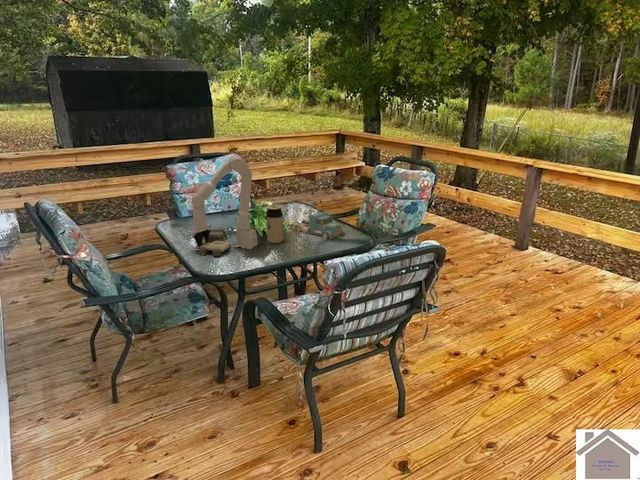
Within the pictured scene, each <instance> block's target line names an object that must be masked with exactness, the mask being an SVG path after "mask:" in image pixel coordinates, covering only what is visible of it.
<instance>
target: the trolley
mask: <svg viewBox="0 0 640 480" xmlns="http://www.w3.org/2000/svg"><path fill="white" fill-rule="evenodd" d="M195 249H199V250H198V254H199V253H200V254H205V255H207V253H208V251H212V253H211V254H212V256H213V257H214V256H219V257H220V256H221V255H222V252H228V251H231V249H232V246H231V244H230V243H229V242H228V241H225V240H224V241H213V242H211V243H209V242H208V243H206V244H204V245H202V246H200V248H198V246H195V247H194V250H195ZM224 250H226V251H224ZM200 254H199V255H200Z"/></svg>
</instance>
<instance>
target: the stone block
mask: <svg viewBox="0 0 640 480" xmlns="http://www.w3.org/2000/svg"><path fill="white" fill-rule="evenodd" d="M208 230H210V234H209V236H208V241H207V243H208V242H209V243H211V242H213V241H224V242H225V238H227V239H228V235H227V232H226V231H225V228H208Z"/></svg>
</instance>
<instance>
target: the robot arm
mask: <svg viewBox="0 0 640 480" xmlns="http://www.w3.org/2000/svg"><path fill="white" fill-rule="evenodd" d="M233 171H234V172H236V173H238V174H239V175H240V177H241V184H240V192H239V193H240V195H239V197H240V198H239V206H238V207H239V208H238V212H237V215H236V216H235V221H236V227H235V234H236V244H235V245H233V248H237V247H241V248H240V249H245V248H246V250H252V249H253V248H254V247H257V246H258V245H259V243H258V236H257V235H258V234H257V230H256V229H253V228H252V227H251V221H250V202H251V192H252V182H253V180H252V179H253V173H252V171H251V169H250V167H249V165H248V164H247V162H246V161H245V159H244V158H243V157H242V156H240V155H239V154H233V155H231V156H230V158H229V159H227V160H226V161H225V162H224V163H223V164H222V165H221V167H220V168H219V169H218V170H217V172H215V174H214V175H213V177H211V179H210V180H206V181H205V182H202V183H201V186H200V187H199V189H198V190H196V191H195V193H194V194H193V195H192V196H191V205H192V215H193V227H192V230H190V231H189V236H190V237H192V238H193V239H194V241H195V243H196V245H197V246H198V247H200V246H202V245H203V242H202V241H203V236H205V242H206V243H207V241H208V236H209V234H210V230H209V229H212V224H211V223H207V217H206V215H207V213H206V208H205V203H206V202H205V201H206V200H208V199H209V198H210V197H211V196H212V195H213V193H214V192H215V191H216V185H217V184H218V183H219V182H220V181H221V180H222V179H223V178H224V177H226V174H229V173H230V174H231V173H233ZM197 246H196V247H197Z"/></svg>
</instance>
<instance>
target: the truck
mask: <svg viewBox="0 0 640 480" xmlns="http://www.w3.org/2000/svg"><path fill="white" fill-rule="evenodd" d="M320 208H321V209H323V208H322V205H321V207H320V206H317V209H316V210H317V212H316V213H313V214H312V208H309V209H308V210H309V211H308V218H307V219H304V220H302V221H301V222H295V223H292V224H291V225H289V227H290V229H291V230H292V231H294V232H299V233H301V232H302V233H304V234H305V233H306V234H309V235H312V236H316V237H320V238H323V239H325V240H329V241H332V240H335V239H337V238H339V237H342V236H345V235H346V232H344V231H343V227H342V224H341V223H337V221H334V219H333V216H331V215H328V214H327V213H326V212H324V211H323V212H322V211H320Z"/></svg>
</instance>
